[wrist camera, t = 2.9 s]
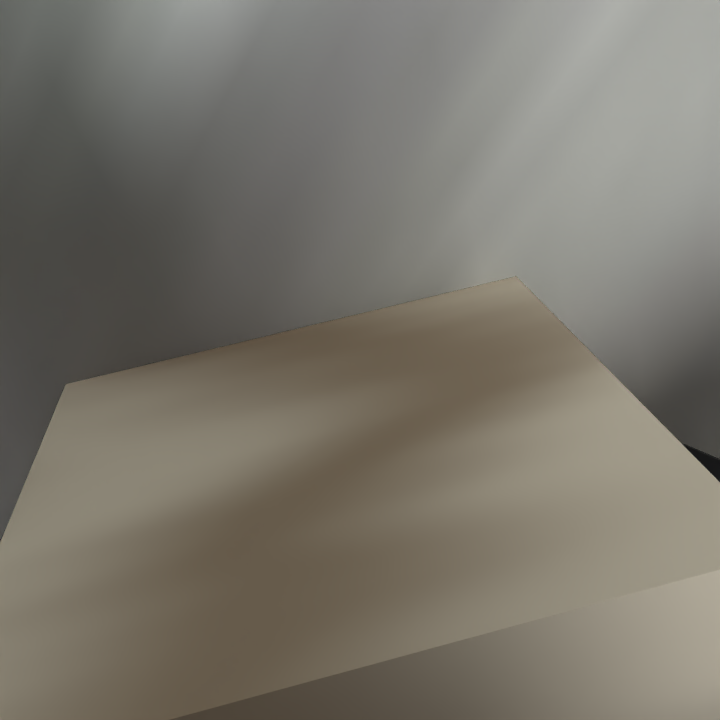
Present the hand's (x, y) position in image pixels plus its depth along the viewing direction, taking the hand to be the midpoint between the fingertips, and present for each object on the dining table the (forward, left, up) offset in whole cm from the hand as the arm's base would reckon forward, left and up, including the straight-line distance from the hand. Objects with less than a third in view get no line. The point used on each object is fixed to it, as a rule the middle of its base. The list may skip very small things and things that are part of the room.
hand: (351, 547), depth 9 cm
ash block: (0, 0, -1) cm, 1 cm away
